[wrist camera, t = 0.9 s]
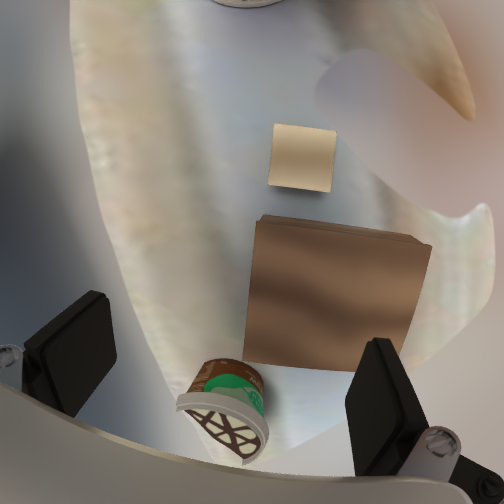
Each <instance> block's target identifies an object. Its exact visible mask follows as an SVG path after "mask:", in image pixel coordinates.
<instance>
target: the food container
mask: <svg viewBox="0 0 504 504" xmlns="http://www.w3.org/2000/svg"><path fill="white" fill-rule="evenodd" d="M176 406H177V410H176V411H177V412H178V411H181V410H184V411H185V412H187V413H188V414H189V415H191V416H192V417H193V418H194V419H195V420H196V421H197V422H198V423H199V424H200V425H201V426H202V427H203V428H204V429H205V430H206V431H207V432H208V433H209V434H210V435H211V436H212V437H213V438H214V439H215V440H217V441H218V442H220V443H222V444H223V445H225V446H227V447H228V448H230V449H231V450H232V451H234V452H235V453H236V454H238V455H239V456H240V457H241V458H243V462H242V465H246V464H249V463H251V462H253V461H254V460H255V459H257V458H258V456H259V455H260V454H261V453H262V451H263V449H264V448H265V445H266V443H267V440H268V437H269V428H268V426H267V423H266V421H265V420H264V418H263V410H264V388H263V381H262V379H261V376H260V375H259V374H258V372H257V371H256V370H255V369H253V368H252V367H251V366H249V365H247V364H245V363H243V362H240V361H237V360H233V359H214V360H210V361H207V362H205V363H204V365H203V366H202V368H201V370H200V371H199V373H198V375H197V376H196V378H195V379H194V381H193V383H192V384H191V386H190V388H189V389H188V391H187V393H185V394H181V395H178V399H177V404H176Z"/></svg>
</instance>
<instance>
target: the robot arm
mask: <svg viewBox="0 0 504 504" xmlns="http://www.w3.org/2000/svg"><path fill="white" fill-rule="evenodd" d="M213 1H215V2H217V3H220V4H224V5H227V6H233V7H247V8H248V7H260V6H264V5H269V4H273V3H276V2H279V1H281V0H213ZM24 346H25V349H26V350H25V351H24V352H22V351H21V349H20V348H19V347H17V346H15V345H2V346H0V504H504V481H503V479H502V478H501V477H500V476H499V475H498V474H496V473H495V472H493V471H491V470H489V469H487V468H485V467H483V466H481V465H479V464H477V463H475V462H473V461H471V460H470V459H468V458H466V457H464V456H462V455H460V452H461V442H460V440H459V438H458V436H457V435H456V434H455V433H454V432H453V431H451V430H450V429H448V428H445V427H442V426H433V427H429V425H428V422H427V420H426V417H425V415H424V412H423V410H422V407H421V405H420V403H419V400H418V398H417V395H416V393H415V391H414V389H413V386H412V384H411V382H410V380H409V378H408V376H407V374H406V372H405V369H404V367H403V365H402V363H401V361H400V359H399V356H398V354H397V352H396V350H395V348H394V346H393V344H392V342H391V340H390V339H389V338H379V337H374V338H373V339H372V341H368V342H367V343H366V346H365V349H364V352H363V354H362V357H361V360H360V362H359V365H358V368H357V370H356V373H355V375H354V378H353V380H352V383H351V385H350V388H349V390H348V392H347V395H346V398H345V408H346V414H347V420H348V427H349V433H350V440H351V447H352V453H353V461H354V469H355V476H356V477H331V476H306V475H290V474H278V473H269V472H261V471H253V470H246V469H240V468H234V467H228V466H223V465H217V464H212V463H208V462H203V461H198V460H194V459H190V458H186V457H181V456H178V455H174V454H170V453H166V452H163V451H160V450H157V449H153V448H150V447H147V446H143V445H141V444H138V443H135V442H132V441H129V440H126V439H123V438H120V437H118V436H115V435H112V434H110V433H107V432H104V431H102V430H100V429H97V428H94V427H92V426H90V425H88V424H85V423H83V422H81V421H78V420H76V419H74V417H75V416H76V414H77V413H78V412H79V410H80V409H81V408H82V406H83V405H84V404H85V402H86V401H87V400H88V398H89V397H90V396H91V394H92V393H93V392H94V390H95V389H96V388H97V386H98V385H99V383H100V382H101V381H102V380H103V378H104V377H105V376H106V374H107V373H108V372H109V371H110V369H111V368H112V367H113V365H114V364H115V362H116V358H117V353H116V347H115V341H114V334H113V327H112V319H111V310H110V302H109V299H108V298H106V295H105V294H104V293H101V292H97V291H93V290H90V291H89V292H87V293H86V294H85V295H83V296H82V297H81V298H79V299H78V300H77V301H75V302H74V303H73V304H72V305H70V306H69V307H68V308H67V309H65V310H64V311H63V312H62V313H60V314H59V315H58V316H56V317H55V318H54V319H53V320H51V321H50V322H49V323H48V324H47V325H45V326H44V327H43V328H42V329H40V330H39V331H38V332H37V333H36V334H34V335H33V336H32V337H31V338H30V339H28V340H27V341H26V342H25V343H24Z"/></svg>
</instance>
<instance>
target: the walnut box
mask: <svg viewBox="0 0 504 504" xmlns="http://www.w3.org/2000/svg"><path fill="white" fill-rule="evenodd" d="M431 250H432V246H431V245H428V244H423V243H422V242H420V241H419V240H417V239H416V238H414V237H413V236H411V235H406V234H400V233H394V232H388V231H381V230H375V229H368V228H361V227H354V226H348V225H341V224H333V223H326V222H319V221H311V220H303V219H296V218H288V217H279V216H271V215H263V216H262V218H261V220H260V221H257V222H256V229H255V240H254V250H253V260H252V270H251V280H250V290H249V299H248V309H247V319H246V329H245V339H244V349H243V359H242V361H248V362H255V363H263V364H271V365H279V366H288V367H297V368H308V369H319V370H333V371H349V372H356V370H357V368H358V365H359V362H360V360H361V357H362V354H363V352H364V349H365V346H366V343H367V342H368V341H372V339H373V338H374V337H379V338H389V339H390V340H391V342H392V344H393V346H394V348H395V350H396V352H397V354H398V356H399V354H400V351H401V348H402V346H403V343H404V340H405V338H406V335H407V332H408V329H409V326H410V324H411V321H412V318H413V315H414V311H415V308H416V305H417V302H418V299H419V295H420V292H421V288H422V285H423V281H424V278H425V274H426V270H427V266H428V262H429V258H430V254H431Z"/></svg>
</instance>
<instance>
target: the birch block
mask: <svg viewBox="0 0 504 504" xmlns="http://www.w3.org/2000/svg"><path fill="white" fill-rule="evenodd" d="M336 135H337V132H336V131H330V130H323V129H316V128H309V127H301V126H293V125H284V124H275V123H274V130H273V140H272V150H271V160H270V170H269V180H268V185H275V186H284V187H292V188H300V189H307V190H315V191H322V192H329V193H330V189H331V181H332V172H333V164H334V155H335V145H336Z"/></svg>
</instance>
